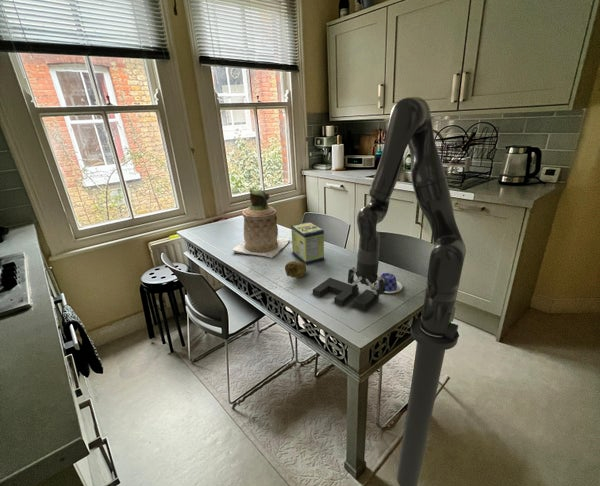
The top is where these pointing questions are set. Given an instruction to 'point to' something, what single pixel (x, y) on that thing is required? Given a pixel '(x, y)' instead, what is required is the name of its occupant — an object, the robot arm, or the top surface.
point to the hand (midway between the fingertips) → (364, 297)
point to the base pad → (335, 290)
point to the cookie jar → (260, 228)
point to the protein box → (308, 242)
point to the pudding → (390, 283)
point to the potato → (295, 269)
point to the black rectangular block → (364, 300)
